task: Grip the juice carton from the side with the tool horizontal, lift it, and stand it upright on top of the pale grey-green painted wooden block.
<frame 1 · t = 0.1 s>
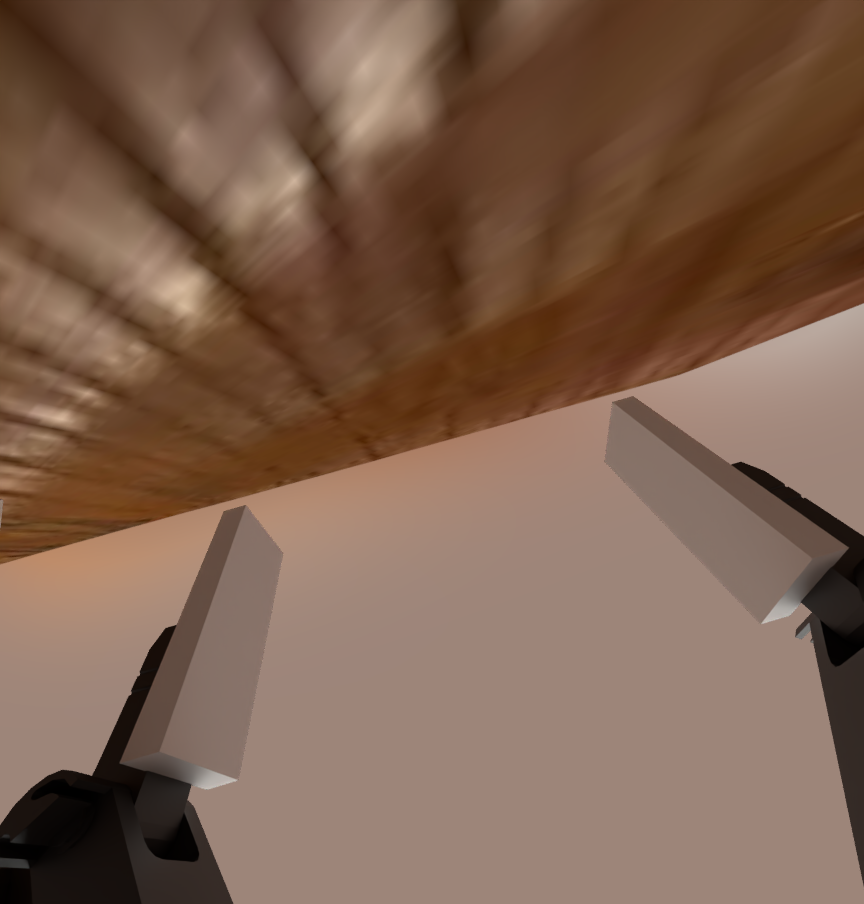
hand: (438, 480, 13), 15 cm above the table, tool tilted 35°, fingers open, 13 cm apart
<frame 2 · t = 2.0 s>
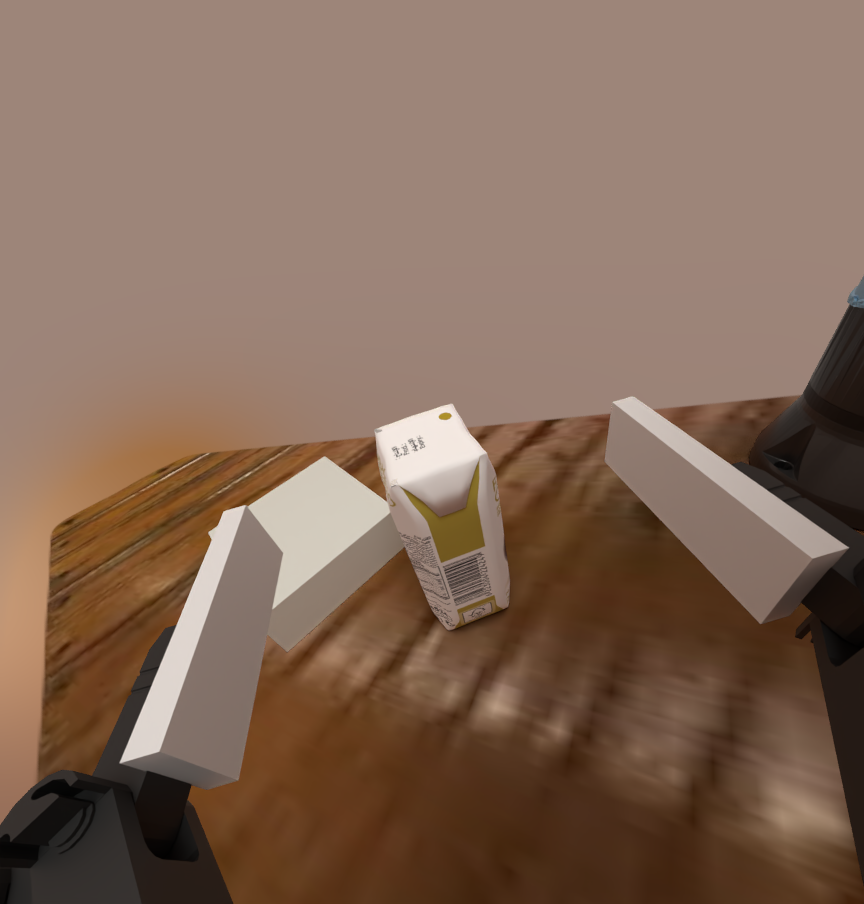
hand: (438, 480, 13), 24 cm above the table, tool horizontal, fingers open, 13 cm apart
juice carton: (466, 589, 35), on the table
stacking block: (319, 552, 42), on the table
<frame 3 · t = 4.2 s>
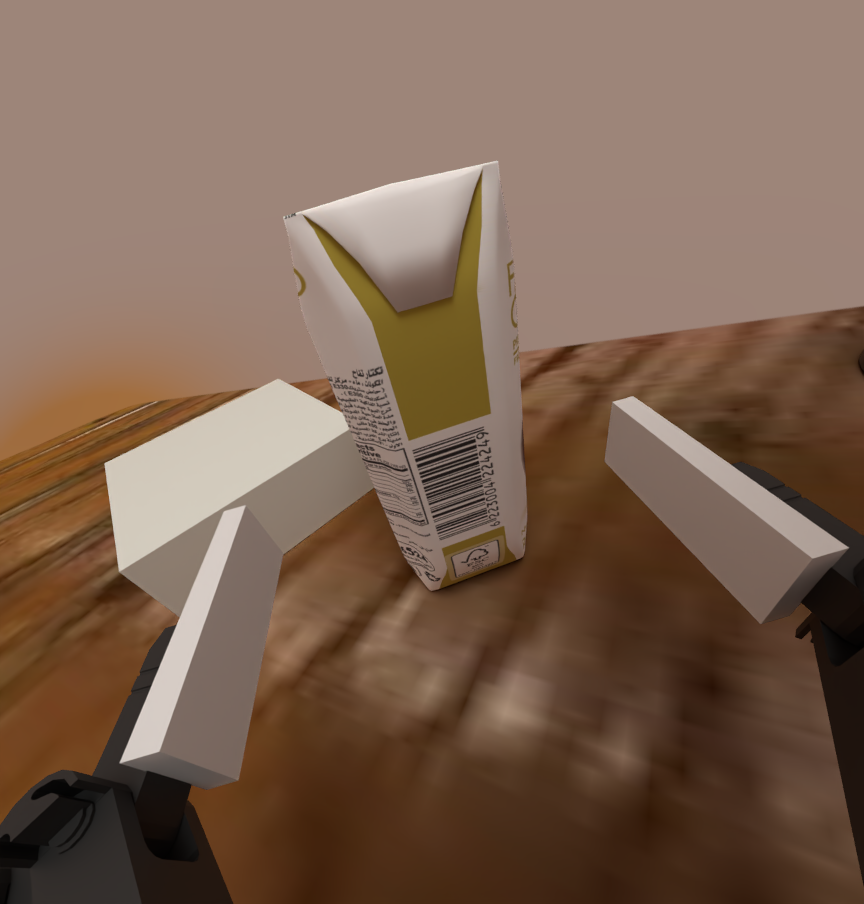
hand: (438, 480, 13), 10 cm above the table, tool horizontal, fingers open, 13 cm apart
juice carton: (460, 535, 24), on the table
stacking block: (262, 496, 31), on the table
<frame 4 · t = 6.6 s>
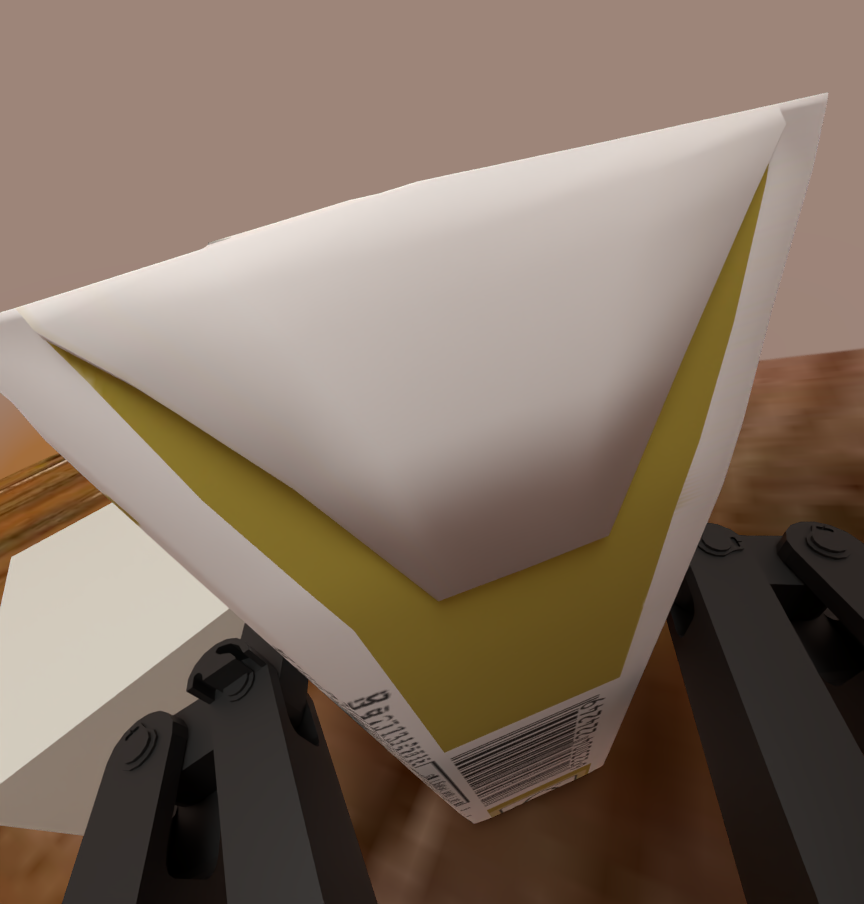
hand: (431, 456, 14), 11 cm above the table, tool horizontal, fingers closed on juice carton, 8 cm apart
juice carton: (495, 688, 16), on the table, touching gripper
stacking block: (225, 591, 24), on the table
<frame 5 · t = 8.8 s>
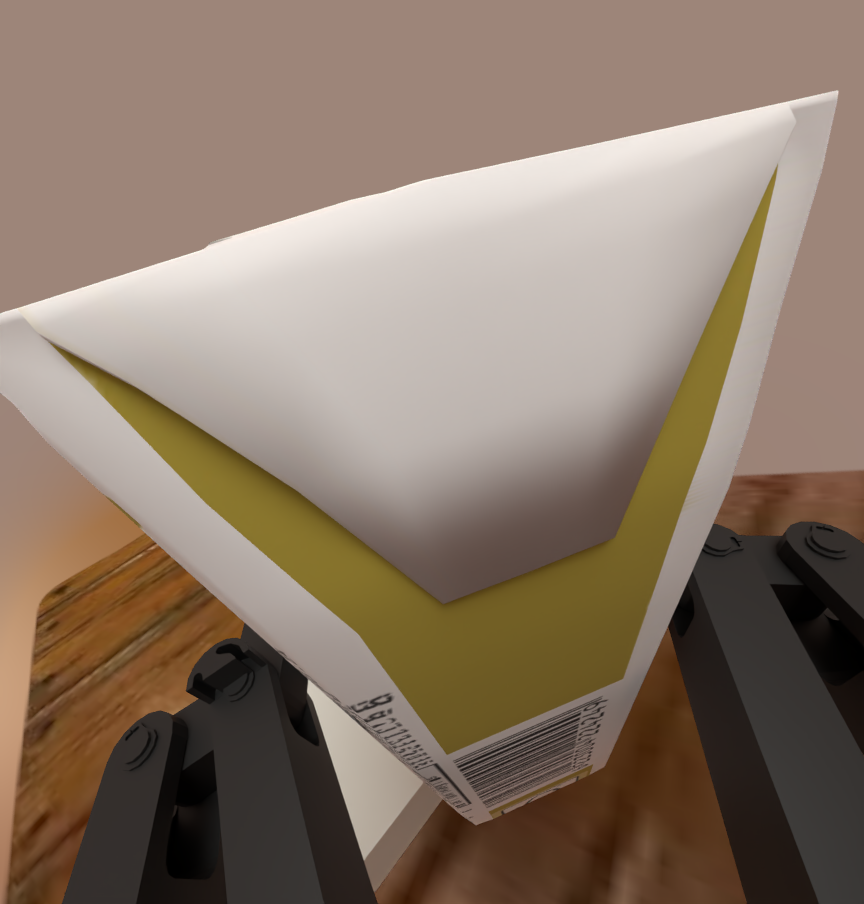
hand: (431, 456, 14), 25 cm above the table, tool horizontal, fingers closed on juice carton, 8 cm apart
juice carton: (496, 689, 16), point 14 cm above the table, touching gripper
stacking block: (397, 681, 30), on the table
when the fingers open (18 cm above the table, at t = 11.3 s): juice carton drops 1 cm, resting on stacking block.
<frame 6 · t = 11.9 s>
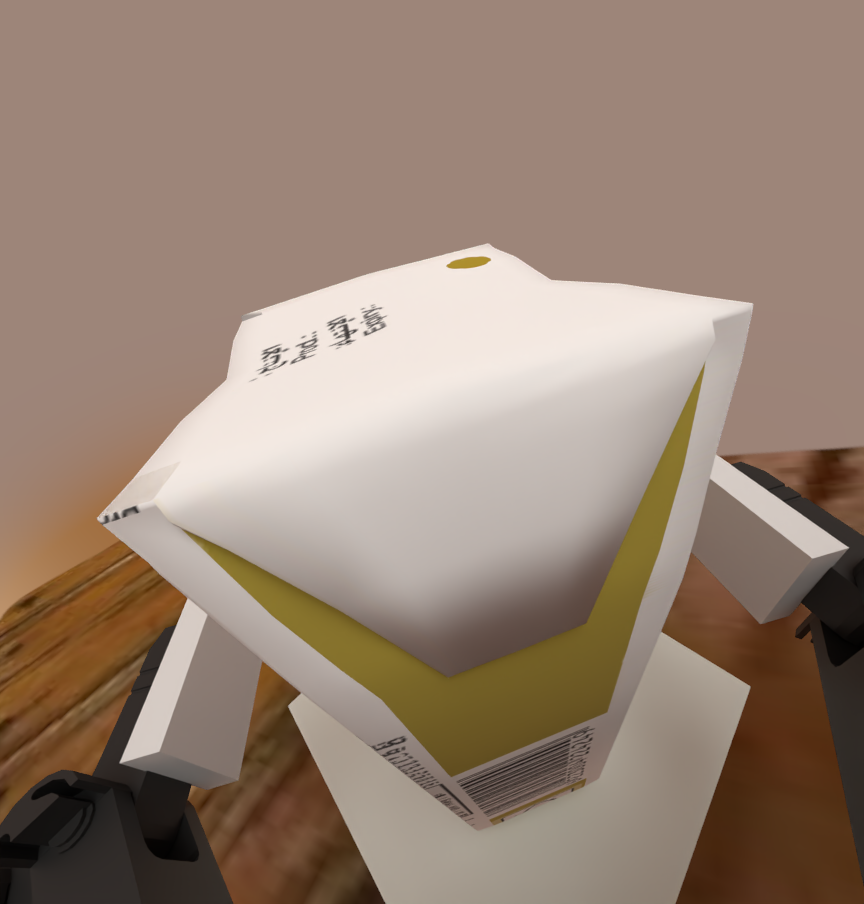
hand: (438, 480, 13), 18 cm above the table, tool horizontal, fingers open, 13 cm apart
juice carton: (498, 699, 17), point 6 cm above the table, touching stacking block
stacking block: (506, 731, 21), on the table
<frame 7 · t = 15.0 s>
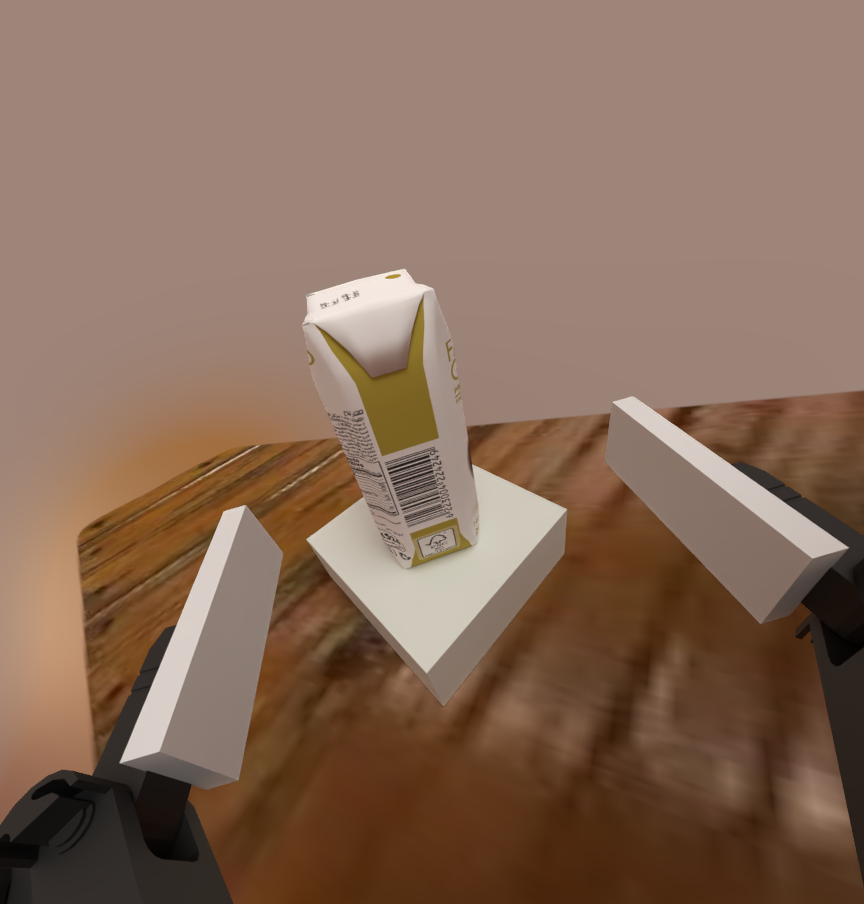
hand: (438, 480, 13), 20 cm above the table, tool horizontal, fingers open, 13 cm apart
juice carton: (431, 527, 30), point 6 cm above the table, touching stacking block
stacking block: (442, 565, 33), on the table
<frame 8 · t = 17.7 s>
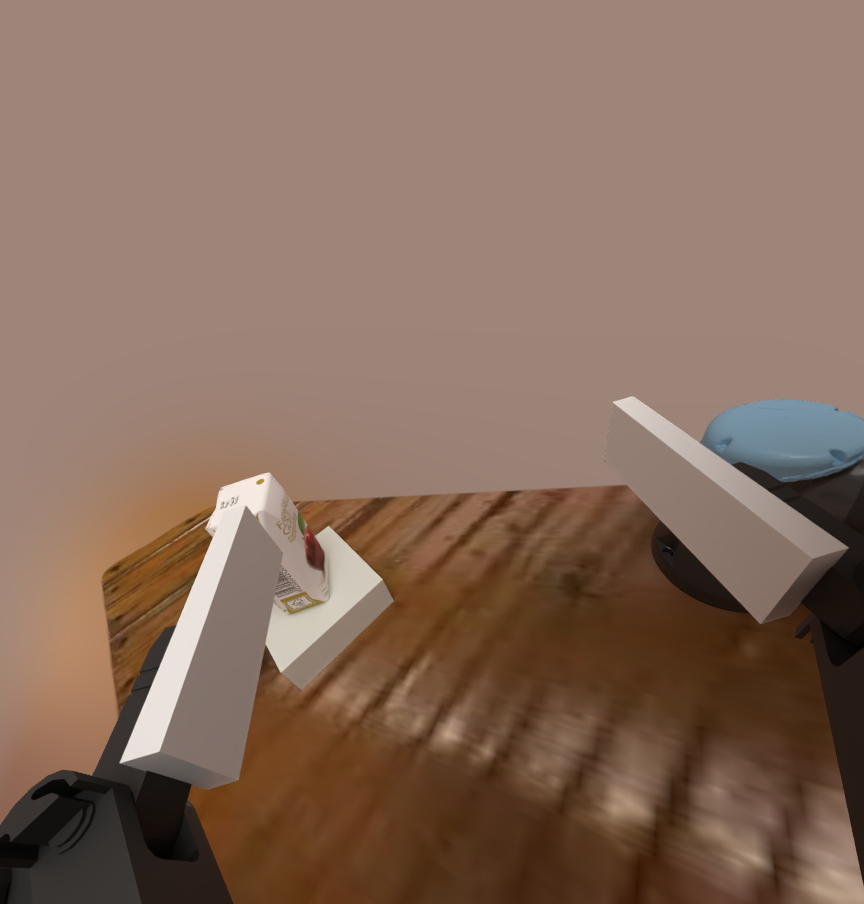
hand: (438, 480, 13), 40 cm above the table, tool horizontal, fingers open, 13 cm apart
juice carton: (309, 587, 51), point 6 cm above the table, touching stacking block
stacking block: (324, 607, 55), on the table
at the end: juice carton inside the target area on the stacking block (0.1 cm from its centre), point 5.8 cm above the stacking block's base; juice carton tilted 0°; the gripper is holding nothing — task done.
